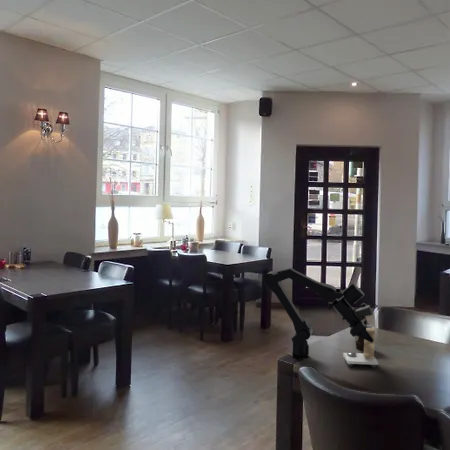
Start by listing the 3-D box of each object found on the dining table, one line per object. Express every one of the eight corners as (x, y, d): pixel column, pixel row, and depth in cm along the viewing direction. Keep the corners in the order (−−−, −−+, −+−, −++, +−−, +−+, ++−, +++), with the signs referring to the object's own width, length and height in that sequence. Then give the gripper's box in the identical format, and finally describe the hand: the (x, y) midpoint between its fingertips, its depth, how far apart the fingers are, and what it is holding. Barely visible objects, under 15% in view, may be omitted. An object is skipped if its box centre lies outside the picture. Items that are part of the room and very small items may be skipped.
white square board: (347, 367, 182) (347, 361, 181) (342, 358, 192) (343, 352, 191) (378, 368, 181) (378, 362, 181) (371, 359, 191) (372, 353, 191)
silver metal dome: (348, 356, 187) (348, 354, 187) (346, 353, 190) (346, 351, 190) (357, 357, 186) (357, 355, 186) (355, 354, 190) (355, 352, 190)
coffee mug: (374, 352, 200) (375, 330, 200) (354, 350, 202) (354, 328, 201) (371, 344, 211) (372, 323, 211) (352, 342, 213) (352, 321, 213)
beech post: (363, 356, 184) (364, 329, 184) (363, 353, 188) (364, 327, 188) (373, 357, 183) (374, 331, 183) (373, 354, 187) (374, 328, 186)
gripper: (359, 303, 177) (388, 334, 174) (361, 294, 194) (387, 322, 192) (338, 321, 180) (366, 352, 177) (341, 310, 197) (367, 338, 195)
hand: (372, 340), depth 185 cm, fingers closed on beech post, 4 cm apart
